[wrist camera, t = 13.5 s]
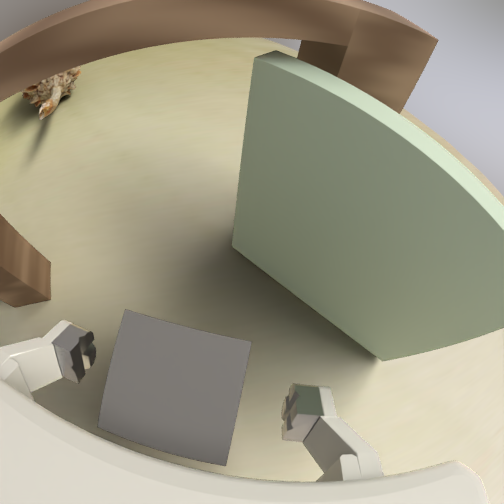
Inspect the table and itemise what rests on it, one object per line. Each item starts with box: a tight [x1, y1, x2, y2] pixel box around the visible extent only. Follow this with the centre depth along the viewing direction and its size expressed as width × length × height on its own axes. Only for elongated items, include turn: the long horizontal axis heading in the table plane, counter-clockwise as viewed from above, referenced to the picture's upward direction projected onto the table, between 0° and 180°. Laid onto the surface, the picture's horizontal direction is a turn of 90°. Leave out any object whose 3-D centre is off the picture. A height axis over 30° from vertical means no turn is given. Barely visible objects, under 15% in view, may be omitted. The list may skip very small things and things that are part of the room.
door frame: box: [0, 0, 438, 307], centre depth 11 cm, size 25×3×16 cm, turn 107°
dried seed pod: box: [21, 66, 81, 120], centre depth 21 cm, size 22×10×10 cm, turn 39°
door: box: [232, 50, 504, 361], centre depth 12 cm, size 13×3×13 cm, turn 52°
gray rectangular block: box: [97, 309, 252, 466], centre depth 11 cm, size 4×4×9 cm
